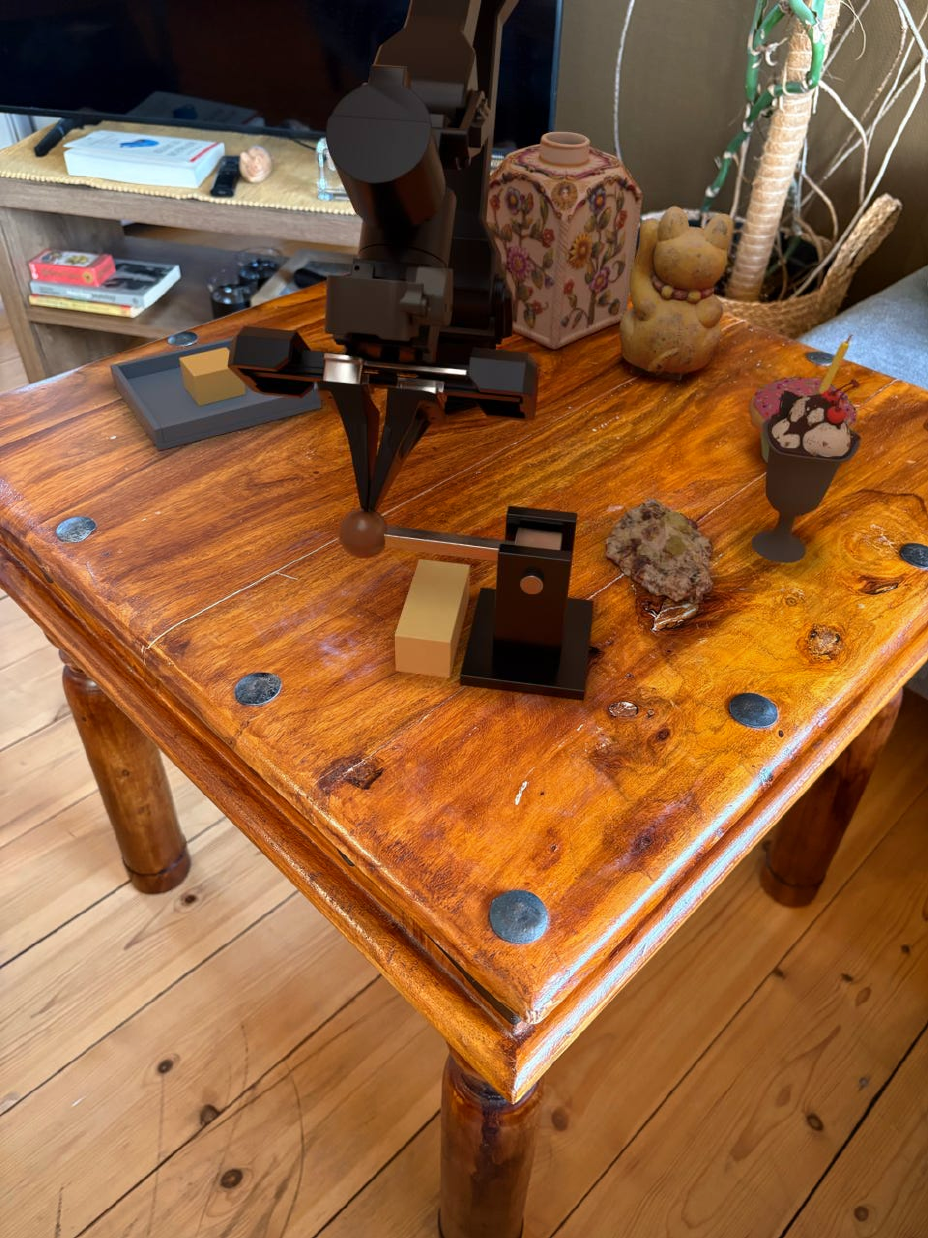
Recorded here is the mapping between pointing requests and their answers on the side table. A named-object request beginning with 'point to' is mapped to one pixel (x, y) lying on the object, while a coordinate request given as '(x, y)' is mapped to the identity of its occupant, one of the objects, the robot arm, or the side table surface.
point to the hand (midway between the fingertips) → (368, 509)
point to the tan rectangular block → (432, 618)
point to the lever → (428, 539)
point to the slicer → (531, 616)
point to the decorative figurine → (675, 295)
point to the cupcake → (770, 394)
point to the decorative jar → (564, 236)
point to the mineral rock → (662, 552)
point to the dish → (177, 415)
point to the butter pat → (210, 377)
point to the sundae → (802, 464)
